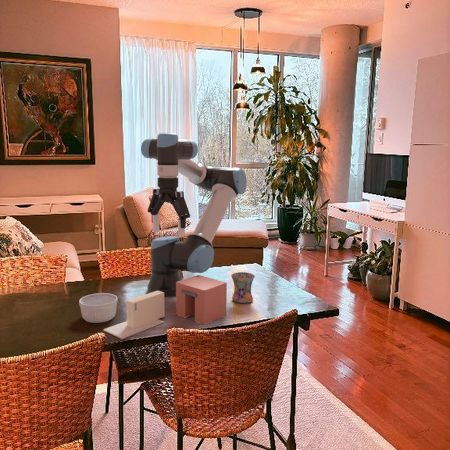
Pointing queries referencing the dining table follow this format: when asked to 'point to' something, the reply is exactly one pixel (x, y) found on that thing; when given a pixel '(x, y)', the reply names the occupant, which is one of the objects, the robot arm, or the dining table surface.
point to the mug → (242, 287)
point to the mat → (129, 329)
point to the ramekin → (98, 307)
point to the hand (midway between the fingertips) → (168, 234)
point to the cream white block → (145, 309)
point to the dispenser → (201, 298)
